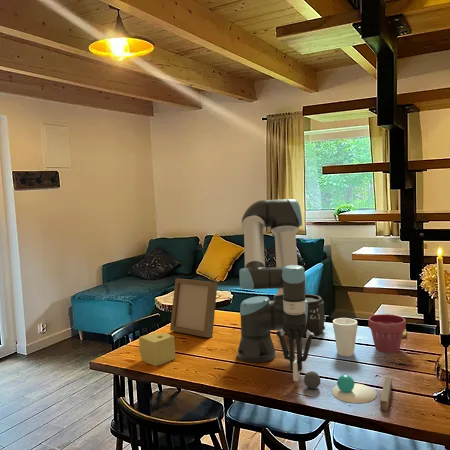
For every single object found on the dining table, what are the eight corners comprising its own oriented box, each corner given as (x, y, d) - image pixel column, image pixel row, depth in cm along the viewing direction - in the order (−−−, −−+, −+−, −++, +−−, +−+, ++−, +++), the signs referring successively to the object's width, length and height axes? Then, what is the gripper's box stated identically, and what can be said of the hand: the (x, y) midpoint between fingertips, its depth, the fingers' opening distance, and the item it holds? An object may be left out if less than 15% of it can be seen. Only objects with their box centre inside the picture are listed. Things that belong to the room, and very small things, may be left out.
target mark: (328, 399, 147) (328, 398, 147) (335, 381, 160) (335, 380, 160) (374, 406, 142) (374, 405, 142) (378, 386, 155) (378, 386, 155)
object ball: (339, 375, 150) (355, 384, 148) (342, 369, 155) (358, 377, 153) (333, 389, 151) (349, 398, 149) (336, 383, 156) (351, 391, 154)
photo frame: (206, 339, 208) (204, 284, 206) (170, 332, 221) (167, 280, 219) (225, 330, 220) (223, 278, 218) (189, 324, 233) (187, 274, 231)
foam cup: (358, 358, 180) (358, 325, 178) (334, 357, 182) (333, 324, 180) (356, 349, 189) (356, 318, 188) (333, 348, 191) (332, 317, 190)
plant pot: (370, 341, 197) (370, 312, 196) (406, 345, 191) (406, 314, 190) (367, 354, 184) (366, 322, 182) (405, 357, 178) (405, 325, 177)
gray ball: (315, 375, 152) (319, 391, 152) (320, 368, 156) (324, 383, 157) (299, 376, 154) (304, 392, 155) (304, 369, 159) (309, 384, 159)
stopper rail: (380, 410, 139) (380, 400, 139) (385, 385, 156) (385, 376, 155) (387, 411, 138) (387, 401, 138) (391, 385, 155) (391, 377, 155)
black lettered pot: (296, 323, 227) (295, 291, 225) (330, 328, 216) (330, 295, 215) (277, 333, 212) (276, 300, 211) (314, 340, 202) (313, 304, 200)
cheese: (160, 353, 194) (159, 330, 193) (177, 359, 186) (175, 335, 185) (139, 361, 187) (138, 336, 186) (155, 367, 179) (154, 342, 178)
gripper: (272, 313, 155) (274, 381, 158) (311, 316, 150) (313, 386, 152) (279, 307, 162) (281, 372, 164) (316, 310, 157) (317, 377, 159)
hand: (296, 379), depth 158 cm, fingers closed
